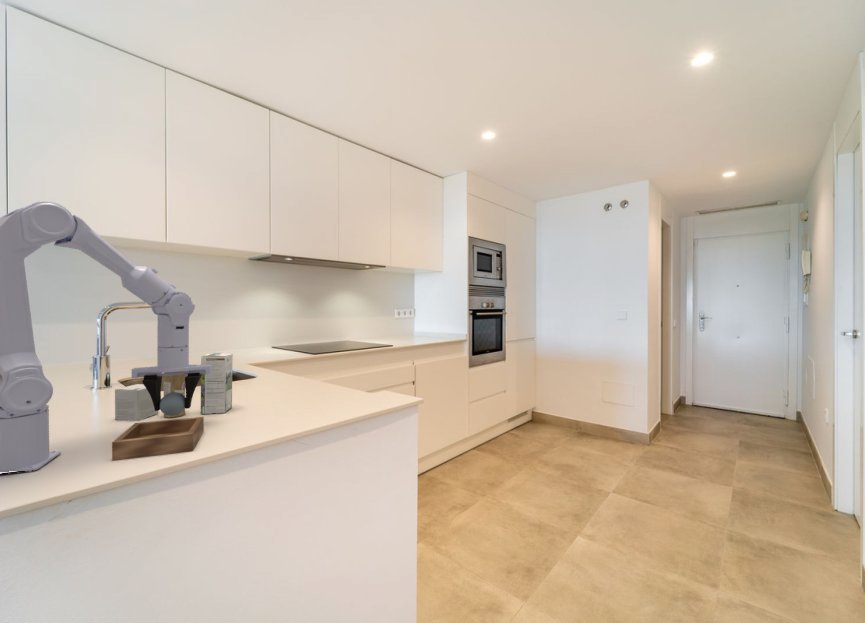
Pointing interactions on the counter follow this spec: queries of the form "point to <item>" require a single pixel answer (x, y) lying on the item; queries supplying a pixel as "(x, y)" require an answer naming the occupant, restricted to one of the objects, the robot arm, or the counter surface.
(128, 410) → the skincare box
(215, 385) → the syrup box
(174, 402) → the ball
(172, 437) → the tray
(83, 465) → the counter surface
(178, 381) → the sprinkles bottle
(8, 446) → the robot arm
